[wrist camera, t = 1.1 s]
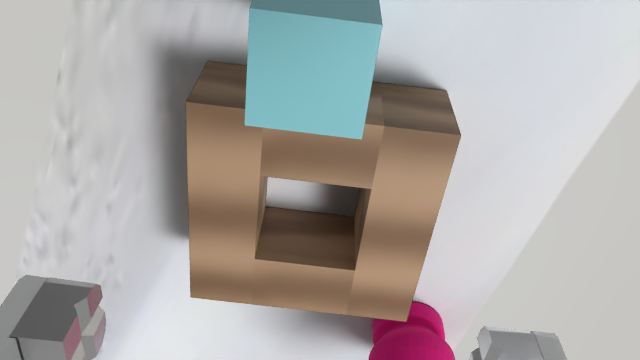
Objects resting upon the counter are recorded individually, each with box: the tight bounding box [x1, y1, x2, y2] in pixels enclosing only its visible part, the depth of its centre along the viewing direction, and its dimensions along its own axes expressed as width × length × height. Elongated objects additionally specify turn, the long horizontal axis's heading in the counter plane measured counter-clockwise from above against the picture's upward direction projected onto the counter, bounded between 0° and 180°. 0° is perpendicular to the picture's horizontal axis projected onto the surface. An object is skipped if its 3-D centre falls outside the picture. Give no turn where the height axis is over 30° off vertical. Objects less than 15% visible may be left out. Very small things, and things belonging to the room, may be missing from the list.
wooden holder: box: [186, 61, 461, 322], centre depth 39 cm, size 16×16×6 cm
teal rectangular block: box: [245, 0, 382, 139], centre depth 28 cm, size 5×5×14 cm
